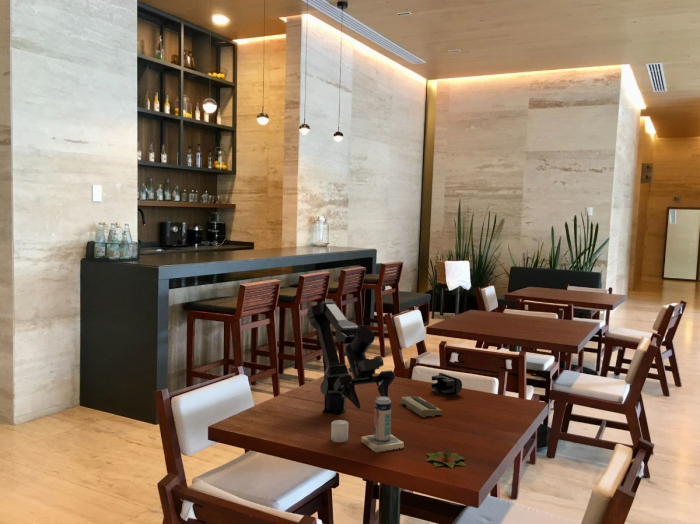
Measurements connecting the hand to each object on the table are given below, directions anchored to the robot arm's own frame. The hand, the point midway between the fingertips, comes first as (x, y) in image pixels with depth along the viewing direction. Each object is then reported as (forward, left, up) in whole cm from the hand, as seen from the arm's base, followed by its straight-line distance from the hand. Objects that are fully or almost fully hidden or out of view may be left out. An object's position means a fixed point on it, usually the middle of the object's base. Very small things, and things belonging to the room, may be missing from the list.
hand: (373, 406), depth 180 cm
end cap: (+14, +56, -10) cm, 58 cm away
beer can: (+4, -4, -8) cm, 10 cm away
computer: (+9, +32, -10) cm, 35 cm away
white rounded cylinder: (-9, -4, -10) cm, 14 cm away
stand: (+4, -4, -10) cm, 11 cm away
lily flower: (+23, -9, -10) cm, 27 cm away
